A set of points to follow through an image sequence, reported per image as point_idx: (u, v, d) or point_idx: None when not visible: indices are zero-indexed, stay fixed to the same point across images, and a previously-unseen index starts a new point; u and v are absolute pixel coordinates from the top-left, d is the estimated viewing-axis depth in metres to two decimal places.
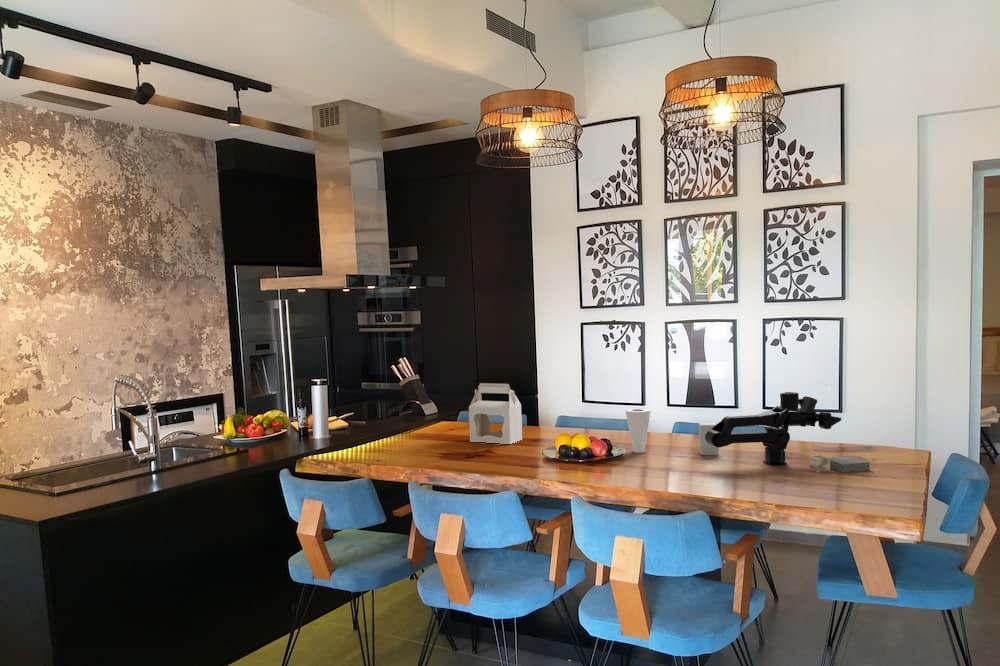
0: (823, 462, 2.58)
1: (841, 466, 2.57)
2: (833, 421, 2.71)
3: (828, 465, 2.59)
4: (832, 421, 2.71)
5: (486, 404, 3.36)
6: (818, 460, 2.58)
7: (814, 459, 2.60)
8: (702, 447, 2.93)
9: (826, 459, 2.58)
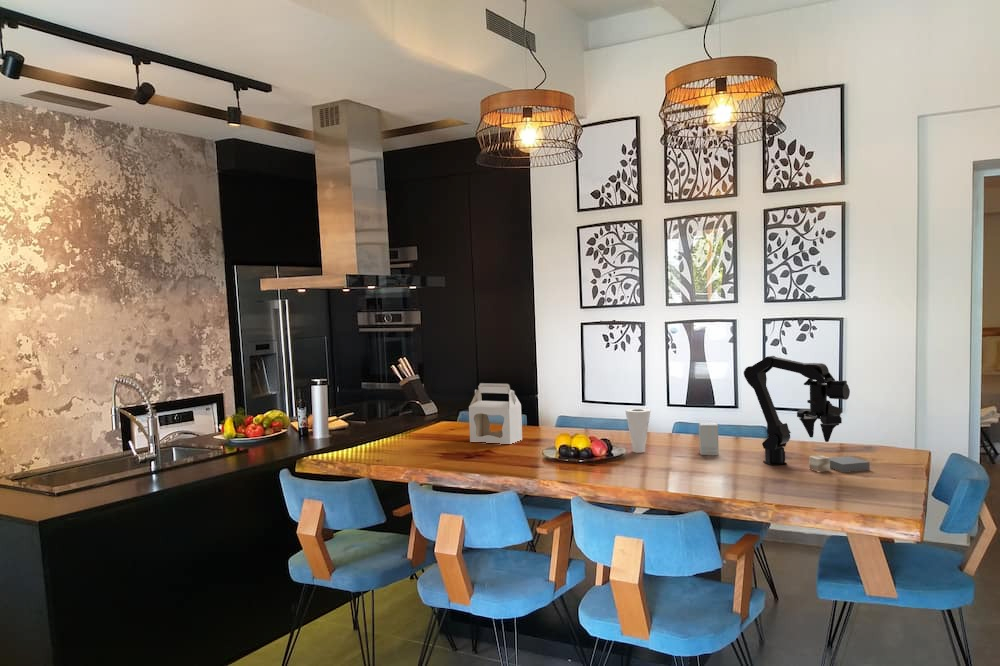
0: (823, 462, 2.58)
1: (841, 466, 2.57)
2: (827, 432, 2.55)
3: (828, 465, 2.59)
4: (827, 430, 2.55)
5: (486, 404, 3.36)
6: (818, 460, 2.58)
7: (814, 459, 2.60)
8: (702, 447, 2.93)
9: (826, 459, 2.59)
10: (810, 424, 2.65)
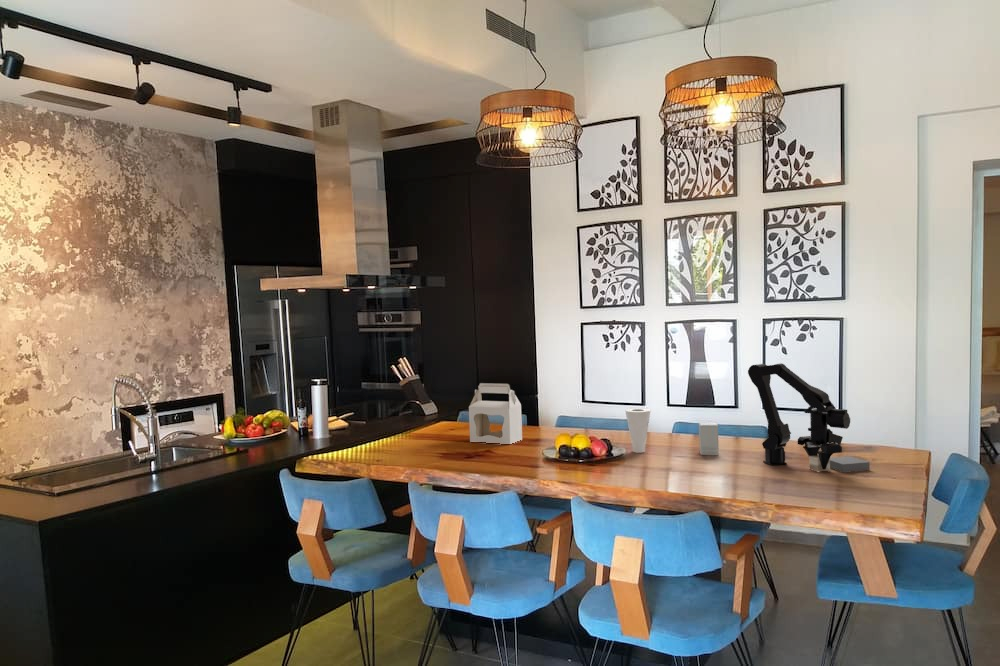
0: None
1: (841, 466, 2.57)
2: (824, 459, 2.57)
3: (828, 465, 2.59)
4: (824, 457, 2.57)
5: (486, 404, 3.36)
6: (818, 460, 2.58)
7: (814, 459, 2.60)
8: (702, 447, 2.93)
9: None
10: (814, 452, 2.64)
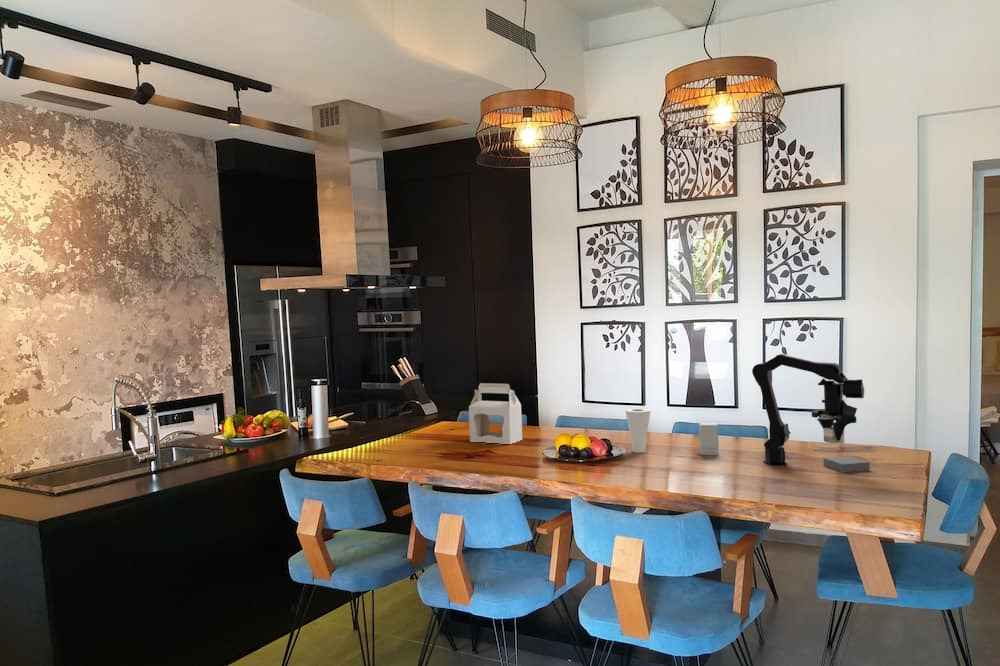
0: None
1: (841, 466, 2.57)
2: (838, 430, 2.57)
3: (842, 436, 2.59)
4: (838, 429, 2.57)
5: (486, 404, 3.36)
6: (832, 431, 2.58)
7: (828, 430, 2.60)
8: (702, 447, 2.93)
9: None
10: (828, 425, 2.64)
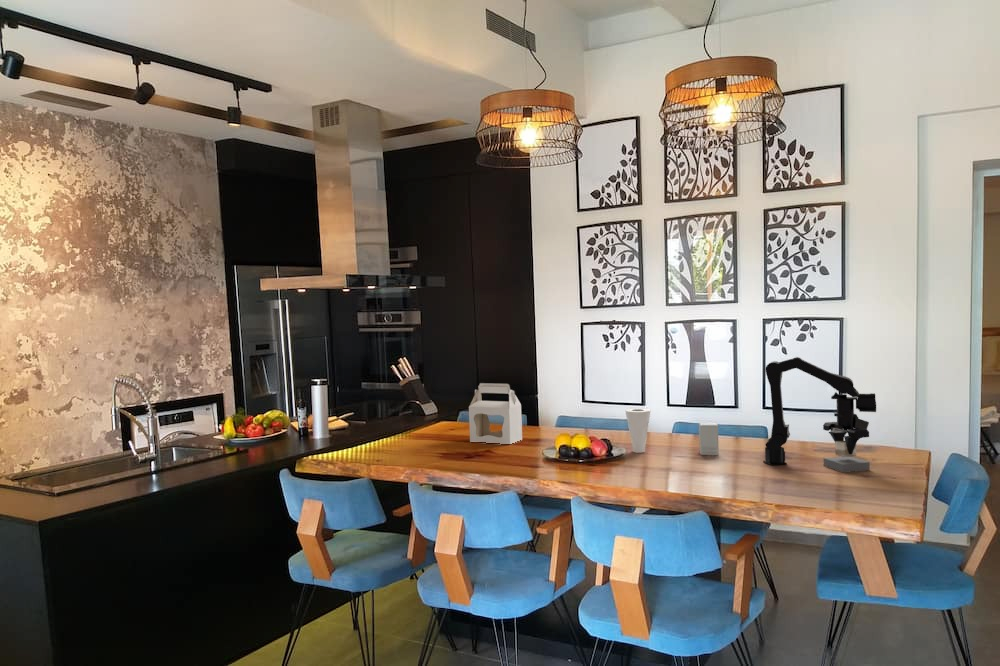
0: None
1: (841, 466, 2.57)
2: (851, 444, 2.59)
3: (854, 450, 2.60)
4: (851, 442, 2.59)
5: (486, 404, 3.36)
6: (845, 445, 2.60)
7: (840, 444, 2.61)
8: (702, 447, 2.93)
9: None
10: (840, 438, 2.65)
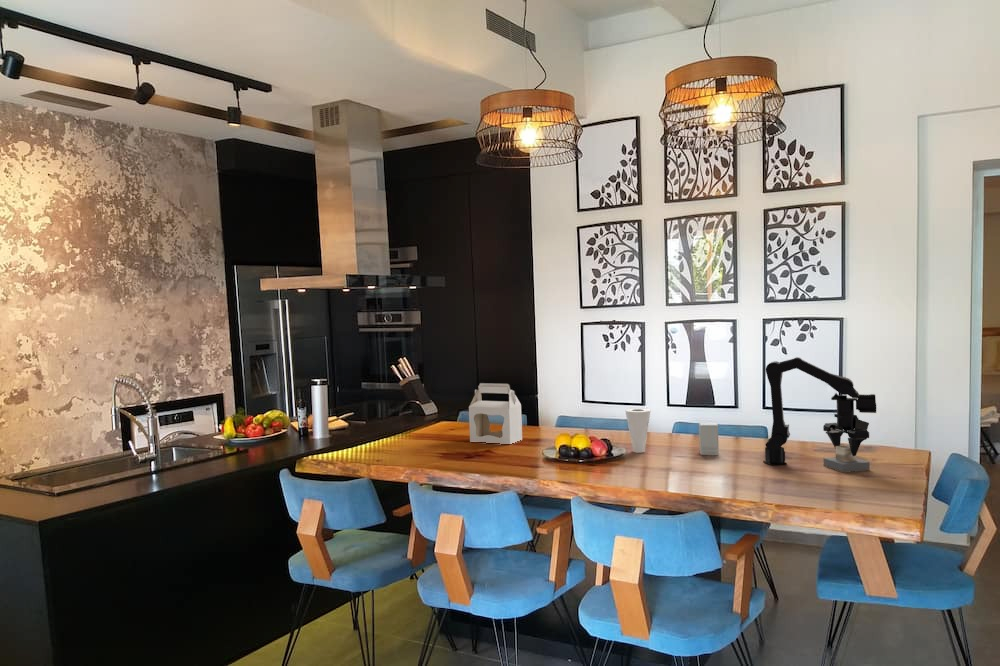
0: (850, 452, 2.60)
1: (841, 466, 2.57)
2: (855, 446, 2.57)
3: None
4: (854, 444, 2.57)
5: (486, 404, 3.36)
6: (845, 449, 2.60)
7: (840, 449, 2.62)
8: (702, 447, 2.93)
9: None
10: (837, 438, 2.67)
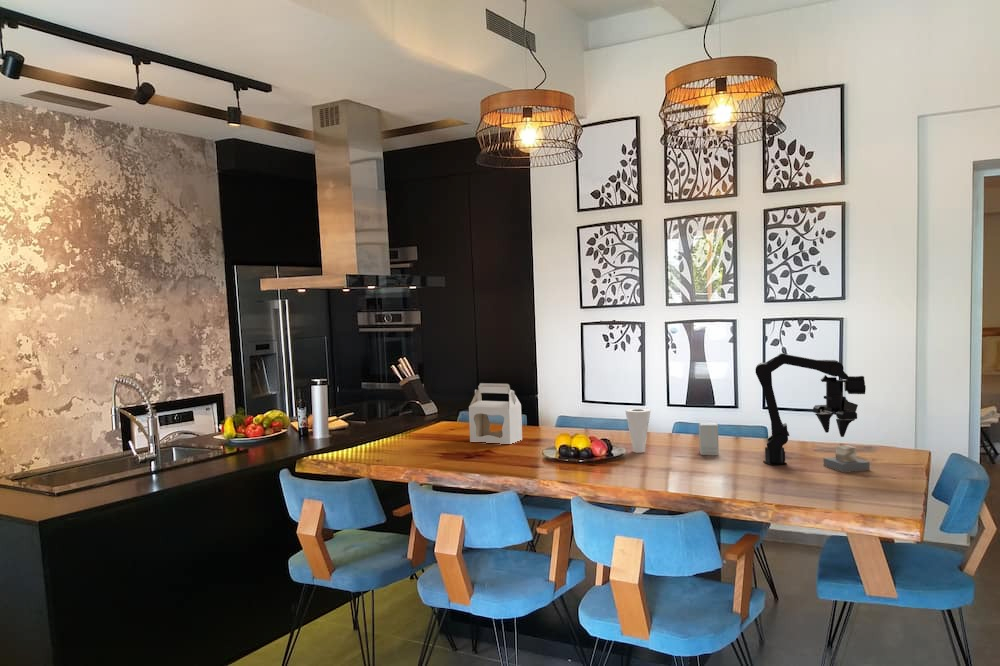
0: (850, 452, 2.60)
1: (841, 466, 2.57)
2: (843, 427, 2.60)
3: (855, 454, 2.61)
4: (842, 425, 2.60)
5: (486, 404, 3.36)
6: (845, 449, 2.60)
7: (840, 449, 2.62)
8: (702, 447, 2.93)
9: (853, 448, 2.60)
10: (826, 419, 2.71)
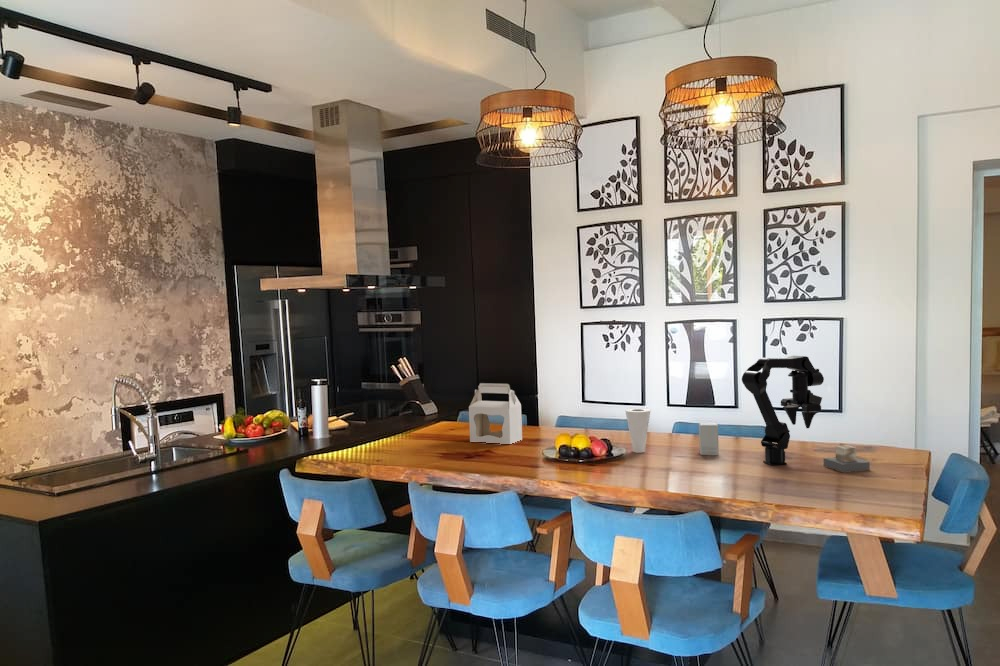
0: (850, 452, 2.60)
1: (841, 466, 2.57)
2: (808, 419, 2.74)
3: (855, 454, 2.61)
4: (808, 417, 2.74)
5: (486, 404, 3.36)
6: (845, 449, 2.60)
7: (840, 449, 2.62)
8: (702, 447, 2.93)
9: (853, 448, 2.60)
10: (793, 412, 2.85)
